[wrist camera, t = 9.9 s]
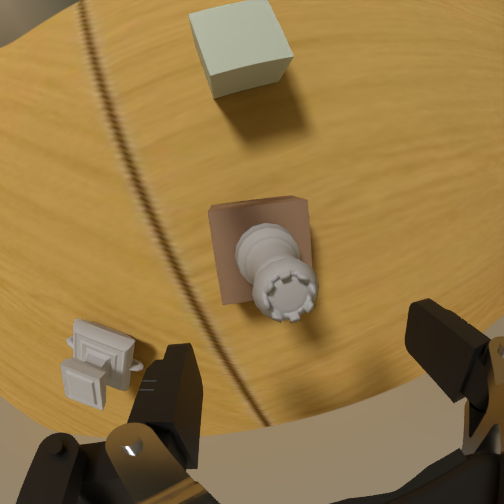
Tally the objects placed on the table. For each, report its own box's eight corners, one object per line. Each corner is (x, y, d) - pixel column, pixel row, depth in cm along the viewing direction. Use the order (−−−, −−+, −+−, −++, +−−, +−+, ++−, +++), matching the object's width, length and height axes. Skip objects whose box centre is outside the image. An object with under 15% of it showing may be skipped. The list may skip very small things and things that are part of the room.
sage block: (257, 31, 20) (266, -3, 14) (278, 82, 22) (293, 56, 16) (195, 46, 20) (188, 14, 14) (213, 99, 22) (210, 75, 16)
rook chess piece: (268, 293, 21) (291, 355, 13) (221, 257, 20) (219, 306, 12) (308, 248, 20) (354, 290, 13) (263, 208, 19) (288, 229, 12)
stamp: (75, 351, 26) (44, 395, 18) (76, 303, 25) (36, 344, 17) (145, 376, 28) (127, 430, 20) (152, 331, 26) (130, 384, 18)
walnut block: (291, 195, 24) (307, 199, 19) (297, 270, 26) (313, 291, 21) (211, 205, 24) (207, 212, 19) (223, 281, 26) (222, 305, 21)
